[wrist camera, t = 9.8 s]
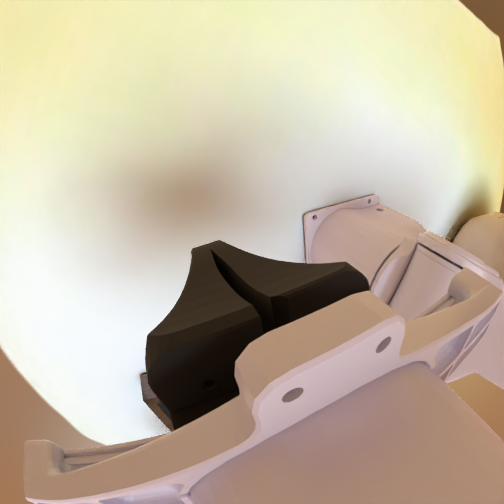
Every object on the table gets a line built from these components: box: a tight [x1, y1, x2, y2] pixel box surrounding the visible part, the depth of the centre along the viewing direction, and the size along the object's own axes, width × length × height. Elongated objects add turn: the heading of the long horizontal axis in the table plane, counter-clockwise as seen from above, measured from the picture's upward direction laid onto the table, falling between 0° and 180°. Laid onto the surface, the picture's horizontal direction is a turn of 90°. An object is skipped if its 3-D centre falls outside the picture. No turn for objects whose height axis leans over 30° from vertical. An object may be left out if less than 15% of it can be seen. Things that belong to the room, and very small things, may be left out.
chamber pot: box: [452, 212, 504, 283], centre depth 34 cm, size 28×28×21 cm
